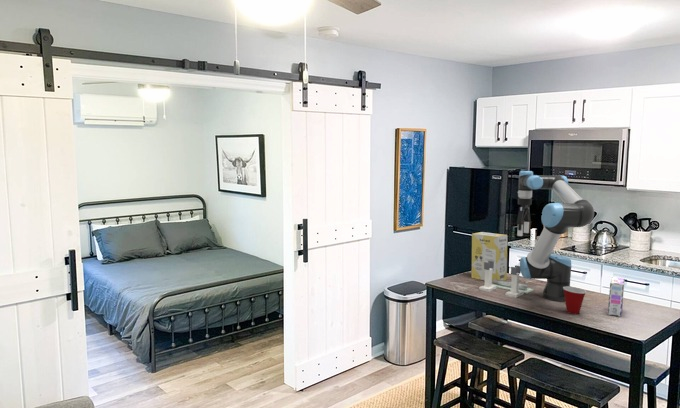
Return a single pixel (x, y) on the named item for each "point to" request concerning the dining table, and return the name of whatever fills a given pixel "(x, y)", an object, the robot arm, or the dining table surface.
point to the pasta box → (489, 255)
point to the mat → (510, 288)
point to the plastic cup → (573, 299)
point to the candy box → (616, 296)
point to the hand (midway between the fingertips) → (523, 234)
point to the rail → (509, 284)
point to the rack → (490, 287)
